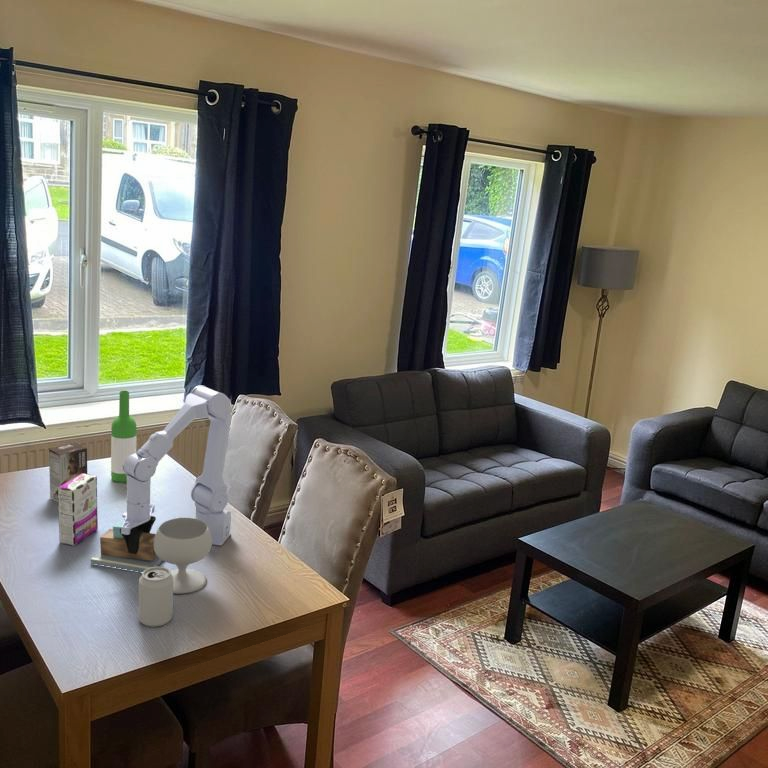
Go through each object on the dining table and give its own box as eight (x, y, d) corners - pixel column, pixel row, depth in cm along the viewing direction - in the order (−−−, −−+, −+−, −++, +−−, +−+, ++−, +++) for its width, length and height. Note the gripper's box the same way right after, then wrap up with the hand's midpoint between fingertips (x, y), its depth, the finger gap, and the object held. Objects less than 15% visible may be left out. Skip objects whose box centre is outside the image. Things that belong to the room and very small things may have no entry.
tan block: (160, 551, 194) (159, 534, 193) (151, 560, 189) (151, 542, 188) (110, 546, 196) (109, 528, 195) (100, 554, 191) (100, 537, 190)
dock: (168, 554, 197) (168, 549, 197) (149, 574, 187) (149, 568, 186) (112, 545, 199) (112, 540, 199) (90, 564, 189) (90, 558, 188)
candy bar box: (82, 526, 208) (81, 472, 204) (98, 529, 207) (98, 475, 203) (57, 543, 198) (56, 486, 194) (74, 546, 197) (73, 489, 193)
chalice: (211, 568, 193) (214, 515, 189) (208, 597, 179) (211, 541, 176) (156, 568, 190) (157, 515, 186) (149, 597, 177) (150, 540, 173)
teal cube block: (135, 532, 193) (134, 521, 193) (128, 538, 190) (127, 528, 189) (120, 530, 194) (120, 520, 193) (113, 537, 190) (112, 526, 189)
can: (142, 609, 172) (143, 563, 169) (175, 611, 172) (176, 564, 169) (134, 628, 164) (135, 580, 161) (168, 629, 165) (170, 581, 162)
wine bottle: (140, 480, 243) (141, 393, 236) (118, 485, 238) (118, 396, 230) (128, 472, 248) (129, 387, 241) (106, 477, 243) (107, 390, 235)
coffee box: (76, 490, 231) (76, 441, 227) (88, 496, 227) (88, 447, 223) (48, 498, 224) (48, 448, 220) (60, 504, 220) (60, 454, 216)
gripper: (137, 487, 196) (136, 533, 199) (109, 508, 182) (109, 558, 185) (162, 491, 195) (161, 537, 199) (136, 513, 181) (135, 562, 185)
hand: (137, 548), depth 192 cm, fingers closed on tan block, 5 cm apart
